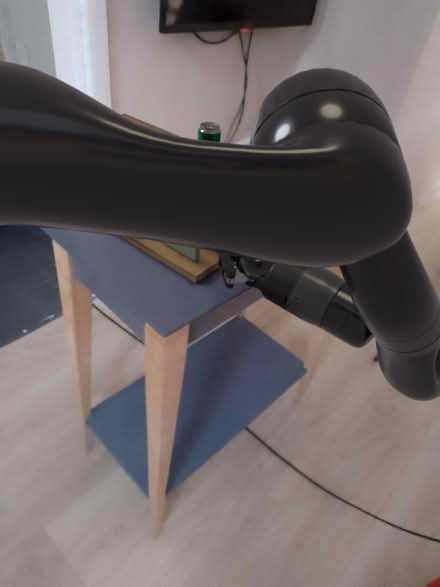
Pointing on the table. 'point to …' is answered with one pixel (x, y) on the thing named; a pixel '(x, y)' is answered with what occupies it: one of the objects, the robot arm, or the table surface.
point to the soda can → (209, 131)
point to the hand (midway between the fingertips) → (208, 237)
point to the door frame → (169, 254)
